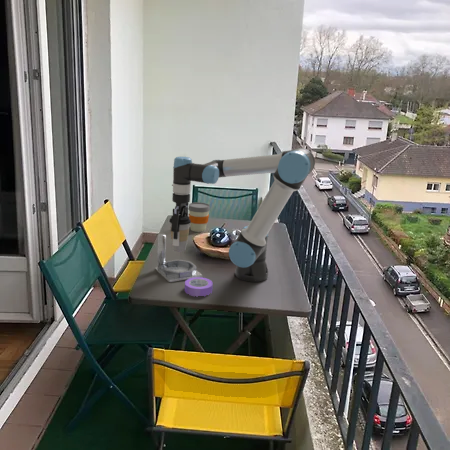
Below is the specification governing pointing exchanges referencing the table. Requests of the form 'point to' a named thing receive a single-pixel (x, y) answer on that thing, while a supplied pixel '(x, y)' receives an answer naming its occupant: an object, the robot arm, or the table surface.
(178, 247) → the coffee cup
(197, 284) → the masking tape
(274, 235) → the table surface
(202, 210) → the reusable coffee cup
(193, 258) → the table surface
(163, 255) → the ring base with post
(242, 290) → the table surface
